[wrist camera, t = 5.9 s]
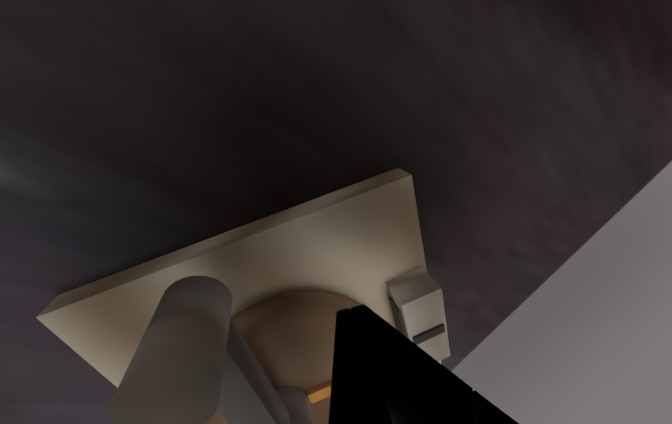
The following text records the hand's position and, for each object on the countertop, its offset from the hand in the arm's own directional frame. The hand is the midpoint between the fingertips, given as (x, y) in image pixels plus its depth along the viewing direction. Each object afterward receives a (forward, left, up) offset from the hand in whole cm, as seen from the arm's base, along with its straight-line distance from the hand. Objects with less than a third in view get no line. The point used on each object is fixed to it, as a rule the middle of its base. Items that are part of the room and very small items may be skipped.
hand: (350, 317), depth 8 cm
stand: (-3, -8, -8) cm, 12 cm away
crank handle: (-4, -6, -6) cm, 9 cm away
